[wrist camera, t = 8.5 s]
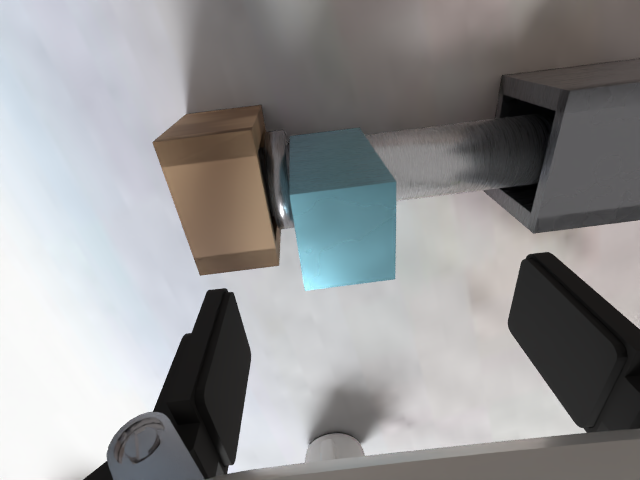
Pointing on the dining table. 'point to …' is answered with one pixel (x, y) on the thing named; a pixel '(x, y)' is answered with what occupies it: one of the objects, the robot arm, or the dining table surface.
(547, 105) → the sleeve
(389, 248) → the plug
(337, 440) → the cup
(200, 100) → the dining table surface
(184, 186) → the cardboard box
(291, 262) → the dining table surface
